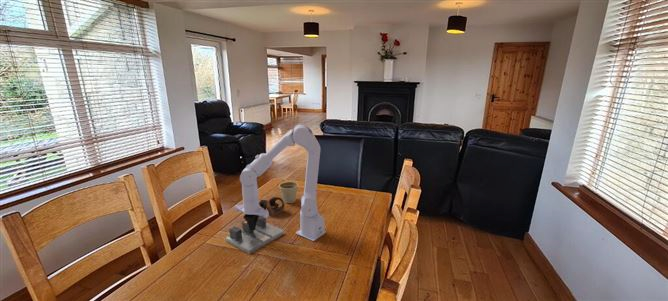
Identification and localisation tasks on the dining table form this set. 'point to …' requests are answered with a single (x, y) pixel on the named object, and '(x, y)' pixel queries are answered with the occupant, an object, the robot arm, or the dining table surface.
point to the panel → (254, 236)
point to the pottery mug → (272, 205)
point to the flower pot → (288, 191)
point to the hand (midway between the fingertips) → (253, 230)
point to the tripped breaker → (246, 226)
